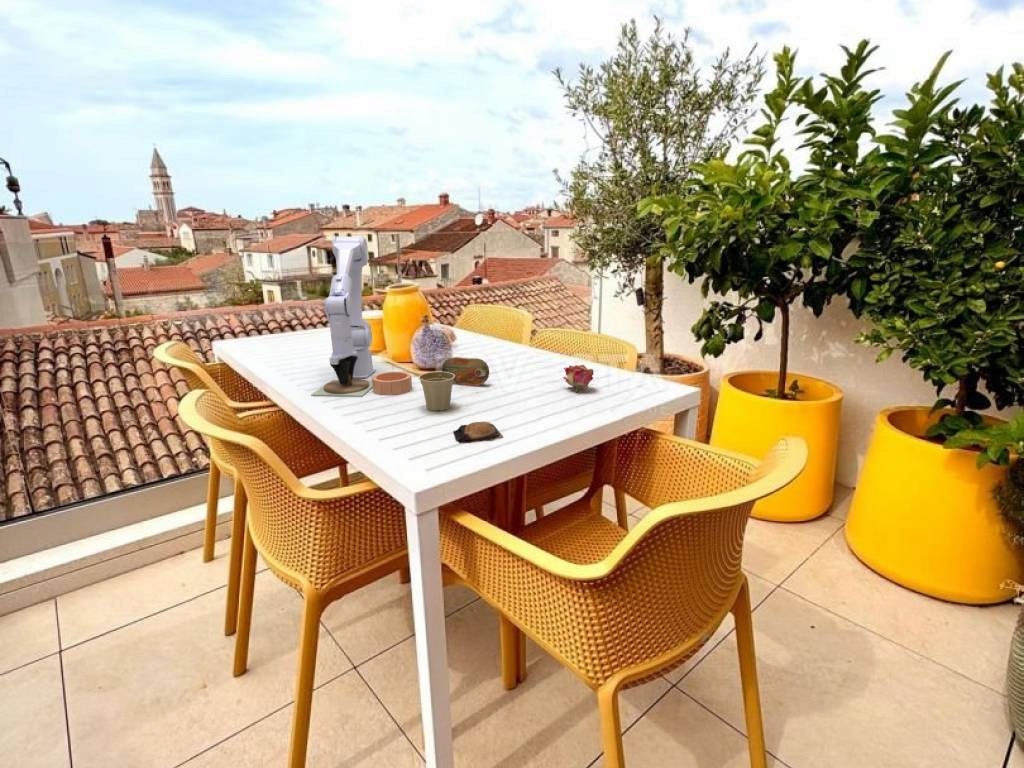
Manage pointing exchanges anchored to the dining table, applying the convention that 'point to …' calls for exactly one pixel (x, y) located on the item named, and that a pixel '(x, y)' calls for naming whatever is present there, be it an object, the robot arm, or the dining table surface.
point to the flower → (578, 376)
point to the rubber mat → (355, 394)
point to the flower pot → (437, 389)
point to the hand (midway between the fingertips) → (346, 382)
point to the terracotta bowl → (392, 383)
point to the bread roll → (476, 432)
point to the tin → (467, 370)
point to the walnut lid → (346, 386)
